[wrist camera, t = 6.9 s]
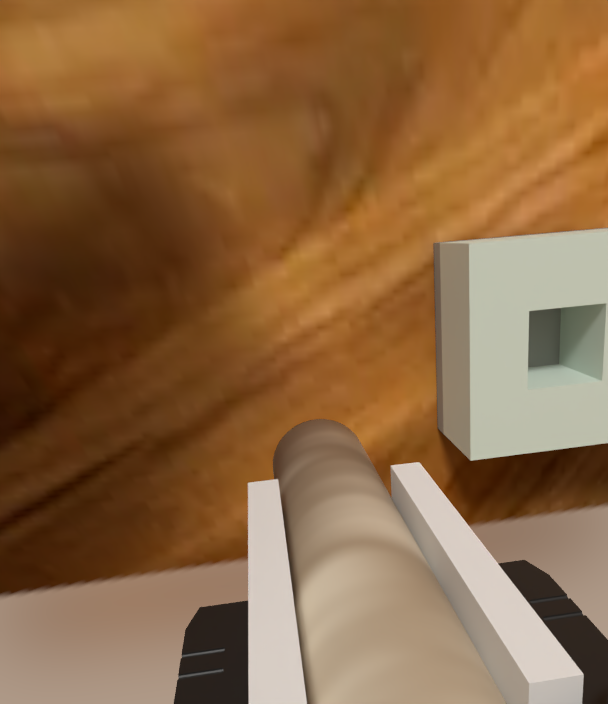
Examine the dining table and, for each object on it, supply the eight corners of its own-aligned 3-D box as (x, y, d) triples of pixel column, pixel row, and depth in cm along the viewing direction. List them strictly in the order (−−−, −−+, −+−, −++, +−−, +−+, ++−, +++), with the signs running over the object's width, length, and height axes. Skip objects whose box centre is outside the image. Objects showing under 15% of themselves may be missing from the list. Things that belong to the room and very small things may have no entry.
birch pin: (277, 510, 17) (411, 1732, 3) (268, 424, 16) (394, 1495, 2) (366, 499, 17) (860, 1568, 3) (361, 414, 16) (962, 1324, 3)
